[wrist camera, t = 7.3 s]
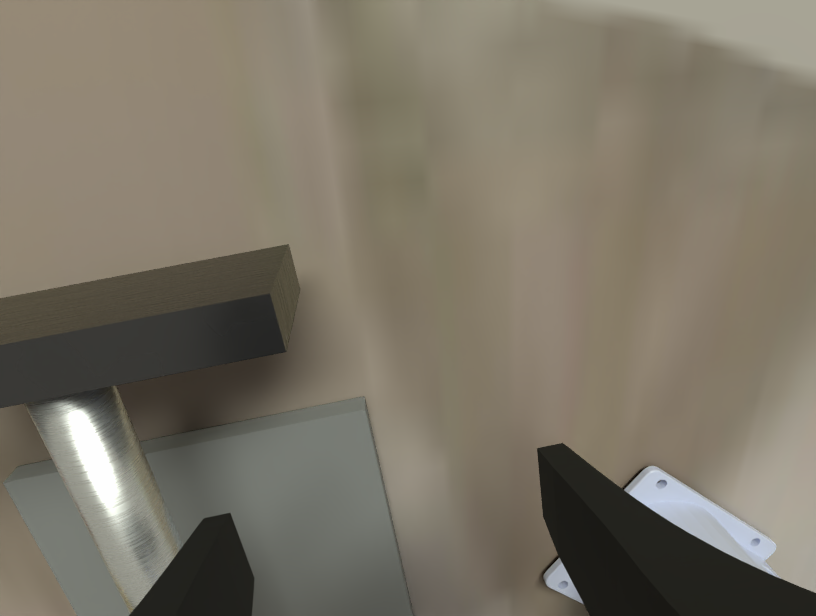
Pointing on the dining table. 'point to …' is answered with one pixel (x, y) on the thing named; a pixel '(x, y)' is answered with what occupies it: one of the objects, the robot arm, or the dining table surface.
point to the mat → (251, 513)
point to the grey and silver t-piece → (129, 362)
